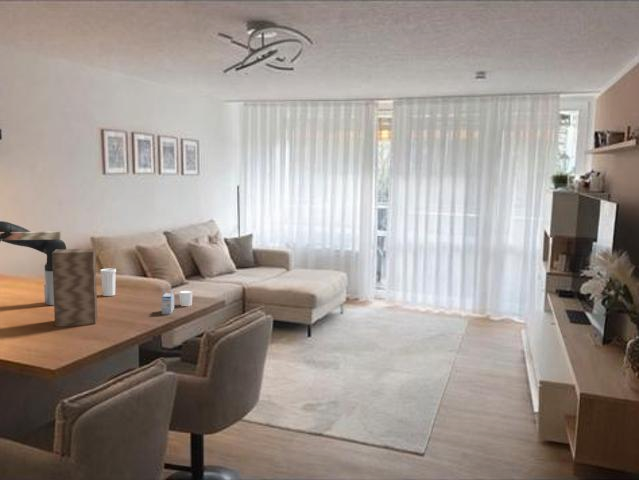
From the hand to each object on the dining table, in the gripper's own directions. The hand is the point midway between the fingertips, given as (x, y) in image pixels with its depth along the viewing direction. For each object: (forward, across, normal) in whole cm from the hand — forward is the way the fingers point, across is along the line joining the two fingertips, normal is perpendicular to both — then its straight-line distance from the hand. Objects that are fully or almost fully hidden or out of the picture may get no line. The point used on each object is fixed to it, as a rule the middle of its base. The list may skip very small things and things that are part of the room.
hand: (11, 232), depth 220 cm
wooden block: (+4, 0, +6) cm, 7 cm away
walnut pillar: (+1, 0, +47) cm, 47 cm away
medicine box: (+35, +7, +67) cm, 76 cm away
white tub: (+43, +19, +72) cm, 85 cm away
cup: (+10, +52, +53) cm, 75 cm away
